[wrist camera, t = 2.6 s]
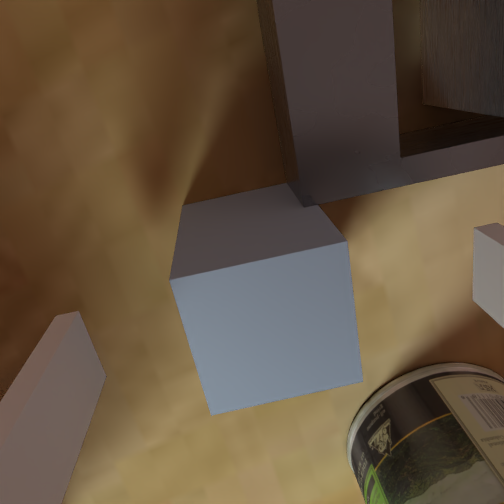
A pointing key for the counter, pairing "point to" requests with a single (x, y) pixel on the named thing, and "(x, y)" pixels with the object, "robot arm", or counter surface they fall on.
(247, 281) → the blue-grey rectangular block
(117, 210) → the counter surface
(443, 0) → the pale wooden cube
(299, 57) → the dark grey compartment tray
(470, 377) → the coffee can
